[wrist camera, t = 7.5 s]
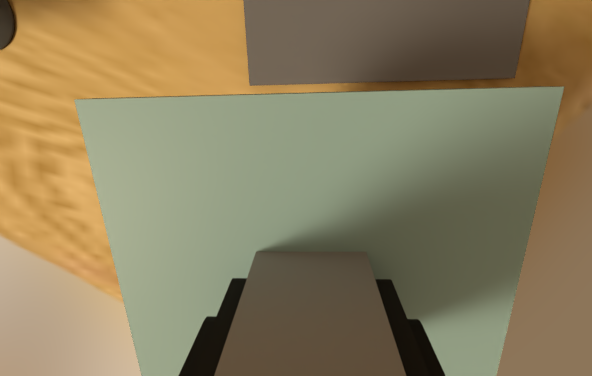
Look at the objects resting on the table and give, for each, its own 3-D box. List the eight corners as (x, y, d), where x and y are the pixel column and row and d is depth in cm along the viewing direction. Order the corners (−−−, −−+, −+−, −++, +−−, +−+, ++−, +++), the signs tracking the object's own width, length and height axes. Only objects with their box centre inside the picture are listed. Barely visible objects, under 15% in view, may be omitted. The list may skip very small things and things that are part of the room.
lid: (95, 98, 11) (-407, 130, 3) (540, 86, 10) (1249, 92, 2) (164, 407, 16) (23, 712, 8) (470, 417, 15) (636, 767, 7)
